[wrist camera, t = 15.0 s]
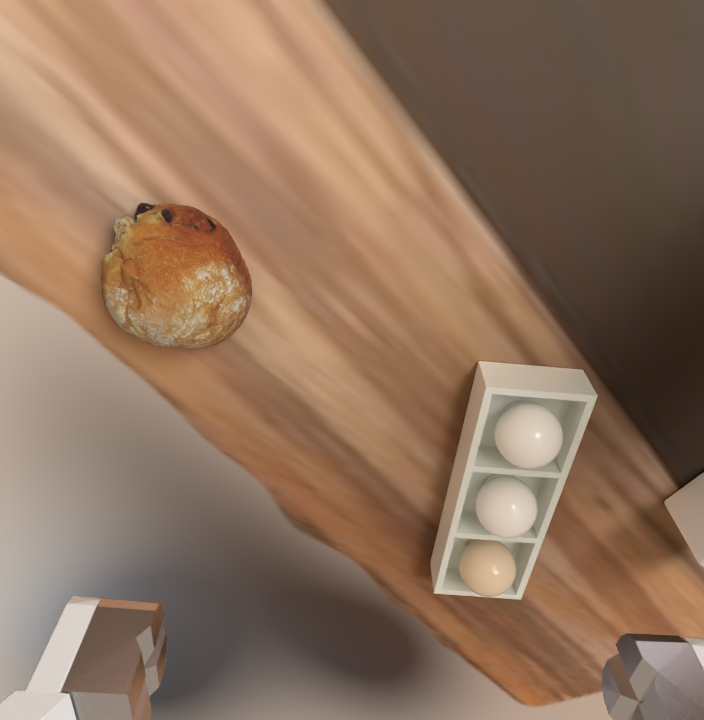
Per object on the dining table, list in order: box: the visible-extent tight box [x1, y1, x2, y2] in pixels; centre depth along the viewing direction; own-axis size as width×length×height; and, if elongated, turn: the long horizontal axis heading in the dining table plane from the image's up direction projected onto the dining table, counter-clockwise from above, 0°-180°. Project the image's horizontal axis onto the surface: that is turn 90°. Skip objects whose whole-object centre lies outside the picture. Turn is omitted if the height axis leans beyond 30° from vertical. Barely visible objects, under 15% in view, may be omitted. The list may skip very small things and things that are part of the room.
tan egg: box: [459, 539, 516, 597], centre depth 54 cm, size 5×5×5 cm
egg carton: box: [430, 361, 598, 599], centre depth 52 cm, size 8×23×4 cm, turn 175°
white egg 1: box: [495, 400, 563, 469], centre depth 46 cm, size 5×5×5 cm
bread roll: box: [101, 203, 252, 349], centre depth 41 cm, size 10×10×8 cm
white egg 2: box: [475, 474, 537, 538], centre depth 50 cm, size 5×5×5 cm
